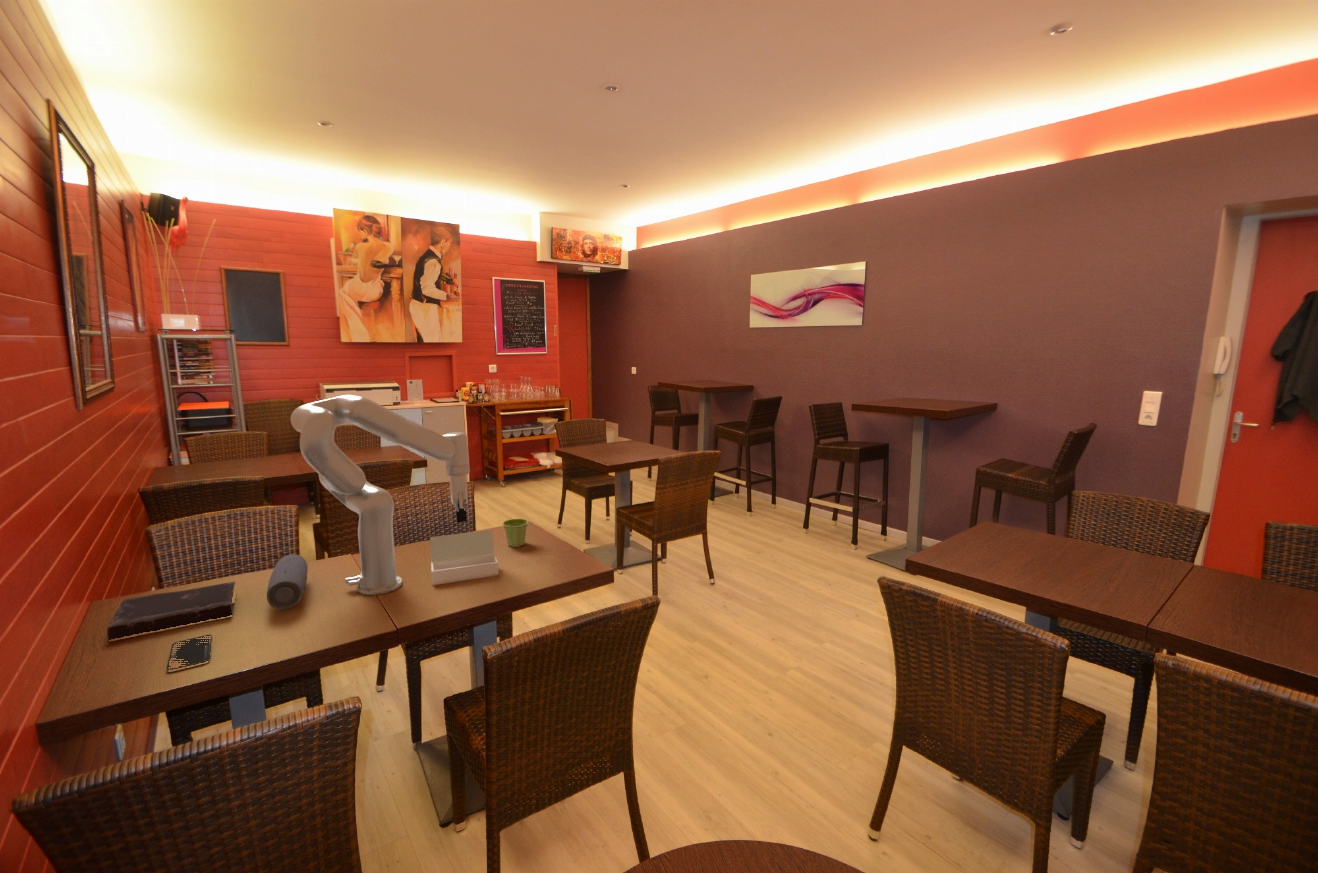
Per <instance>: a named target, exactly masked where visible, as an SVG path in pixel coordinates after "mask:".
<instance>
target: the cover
mask: <svg viewBox="0 0 1318 873" xmlns="http://www.w3.org/2000/svg"><path fill="white" fill-rule="evenodd" d="M493 535H494V531H493V529H488V530H487V529H486V530H478V531H470V532H464V533H455V534H446V535H436V536H430V537H429V539H430V555H431V558H430V559H431V562H438V561H446V560H453V559H461V558H468V557H476V556H483V555H491V554H495V545H494V536H493Z"/></svg>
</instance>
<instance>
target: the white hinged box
mask: <svg viewBox="0 0 1318 873" xmlns="http://www.w3.org/2000/svg"><path fill="white" fill-rule="evenodd" d="M430 565H431V566H430V568H431V581H432V582H431V584H432V586H437V585H445V584H451V583H457V582H464V581H470V580H477V579H485V578H490V577H497V576H499V575H500V574H499V561H498V559H497V556H496V554H495V553H494V554H488V555H481V556H473V557H466V558H458V559H451V560H444V561H436V562H432V561H431V562H430Z"/></svg>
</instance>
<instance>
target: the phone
mask: <svg viewBox="0 0 1318 873" xmlns="http://www.w3.org/2000/svg"><path fill="white" fill-rule="evenodd" d="M204 636H211V637H210V638H211V639H196V638H201V637H202V638H203V637H204ZM204 638H205V637H204ZM206 638H207V637H206ZM208 638H209V637H208ZM186 640H190V641H186ZM201 640H202V641H201ZM203 640H204V641H203ZM205 640H206V641H205ZM207 640H208V641H207ZM209 640H210V641H209ZM211 641H212V642H213V636H212V634H205V635H201V636H197V637H192V638H187V639H182V640H180V641H176V642H174V643H172V645H171V649H170V653H169V658H168V661H167V666H166V671H167V670H173V669H178V668H182V667H187V666H191V665H196V664H199V663H204V662H206V661H209V659H210V660H211V658H210V657H211V656H210V652H211V653H212V646H211ZM177 642H185V643H181V644H185V645H181V647H173V646H174V644H176V643H177ZM186 642H187V643H186ZM188 642H189V643H188ZM198 642H199V643H198ZM200 642H203V643H200ZM204 642H208V643H204ZM209 642H210V643H209ZM177 644H178V643H177ZM179 644H180V643H179ZM196 644H197V645H196ZM198 644H199V645H198ZM175 646H176V645H175ZM177 646H178V645H177ZM179 646H180V645H179ZM205 646H206V647H205ZM172 648H180V649H172ZM172 650H178V651H172ZM172 652H176V653H172ZM171 654H174V655H171ZM176 656H177V657H176ZM171 658H176V659H184V660H181V661H183V662H181V663H186V664H181V665H186V666H179V667H178V668H172V669H171V668H170V669H169V668H168V667H171V666H169V661H170V659H171ZM172 661H180V660H172ZM184 661H188V662H184ZM171 663H172V662H171ZM173 663H174V662H173ZM178 663H180V662H178ZM188 663H189V664H188Z"/></svg>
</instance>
